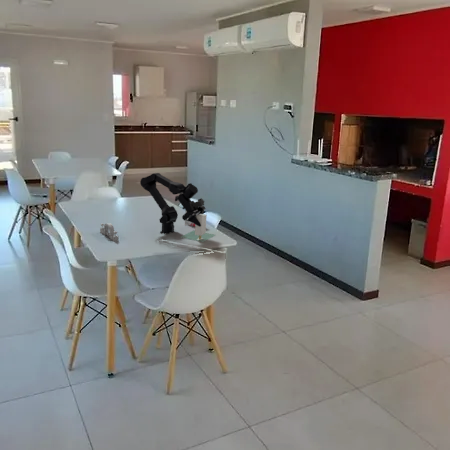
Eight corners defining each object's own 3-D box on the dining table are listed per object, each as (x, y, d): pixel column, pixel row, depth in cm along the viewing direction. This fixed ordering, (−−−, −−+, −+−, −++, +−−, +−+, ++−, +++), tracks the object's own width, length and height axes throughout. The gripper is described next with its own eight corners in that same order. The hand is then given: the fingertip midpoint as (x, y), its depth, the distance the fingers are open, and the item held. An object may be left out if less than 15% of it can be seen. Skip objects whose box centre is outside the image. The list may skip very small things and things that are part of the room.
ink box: (199, 226, 293) (200, 208, 290) (194, 228, 289) (195, 209, 286) (189, 223, 297) (190, 206, 294) (184, 225, 294) (185, 207, 290)
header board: (179, 238, 265) (179, 233, 264) (193, 232, 280) (193, 227, 279) (203, 243, 259) (203, 238, 258) (215, 236, 274) (216, 231, 273)
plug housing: (194, 234, 261) (195, 215, 258) (199, 232, 266) (200, 213, 264) (200, 235, 260) (202, 216, 257) (205, 233, 265) (206, 214, 262)
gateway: (100, 232, 268) (100, 219, 266) (104, 232, 269) (104, 219, 267) (114, 242, 253) (114, 228, 251) (118, 241, 254) (118, 227, 252)
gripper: (188, 197, 250) (205, 220, 249) (203, 191, 267) (219, 213, 266) (174, 209, 255) (191, 231, 254) (190, 203, 272) (206, 224, 271)
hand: (202, 224), depth 261 cm, fingers closed on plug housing, 6 cm apart
